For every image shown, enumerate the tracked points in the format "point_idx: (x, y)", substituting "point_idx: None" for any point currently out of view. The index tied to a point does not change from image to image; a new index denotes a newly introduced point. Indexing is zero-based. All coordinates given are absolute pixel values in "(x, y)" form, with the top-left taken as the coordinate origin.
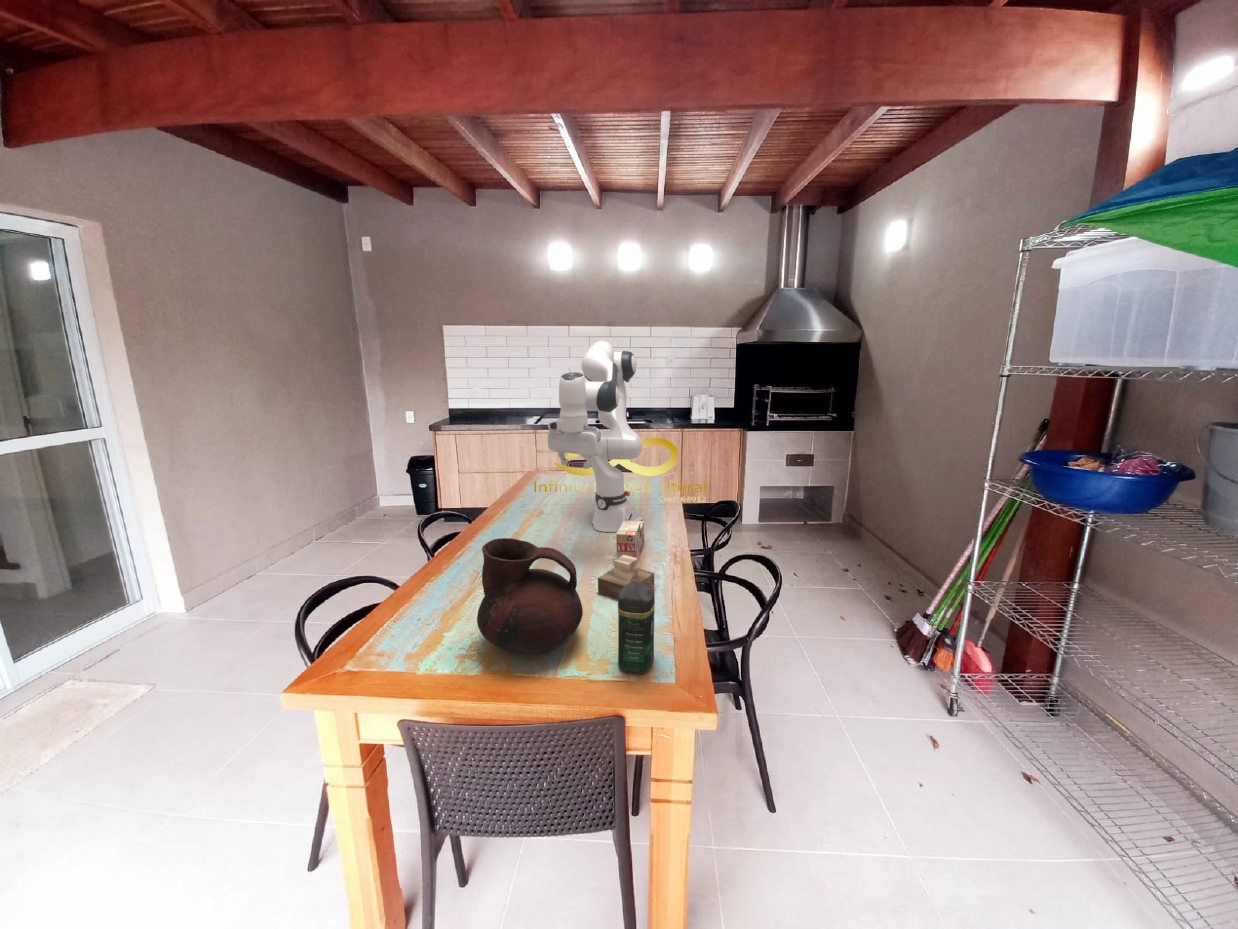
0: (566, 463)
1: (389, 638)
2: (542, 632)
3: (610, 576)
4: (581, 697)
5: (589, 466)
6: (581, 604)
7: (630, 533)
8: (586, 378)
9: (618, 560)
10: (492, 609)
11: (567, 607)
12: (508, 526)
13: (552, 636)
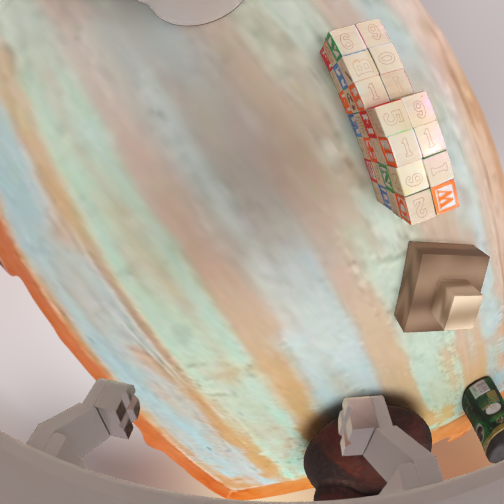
0: (132, 398)
1: (219, 468)
2: None
3: (423, 315)
4: (439, 439)
5: (382, 408)
6: (429, 433)
7: (444, 199)
8: None
9: (451, 324)
10: None
11: None
12: (8, 158)
13: None
